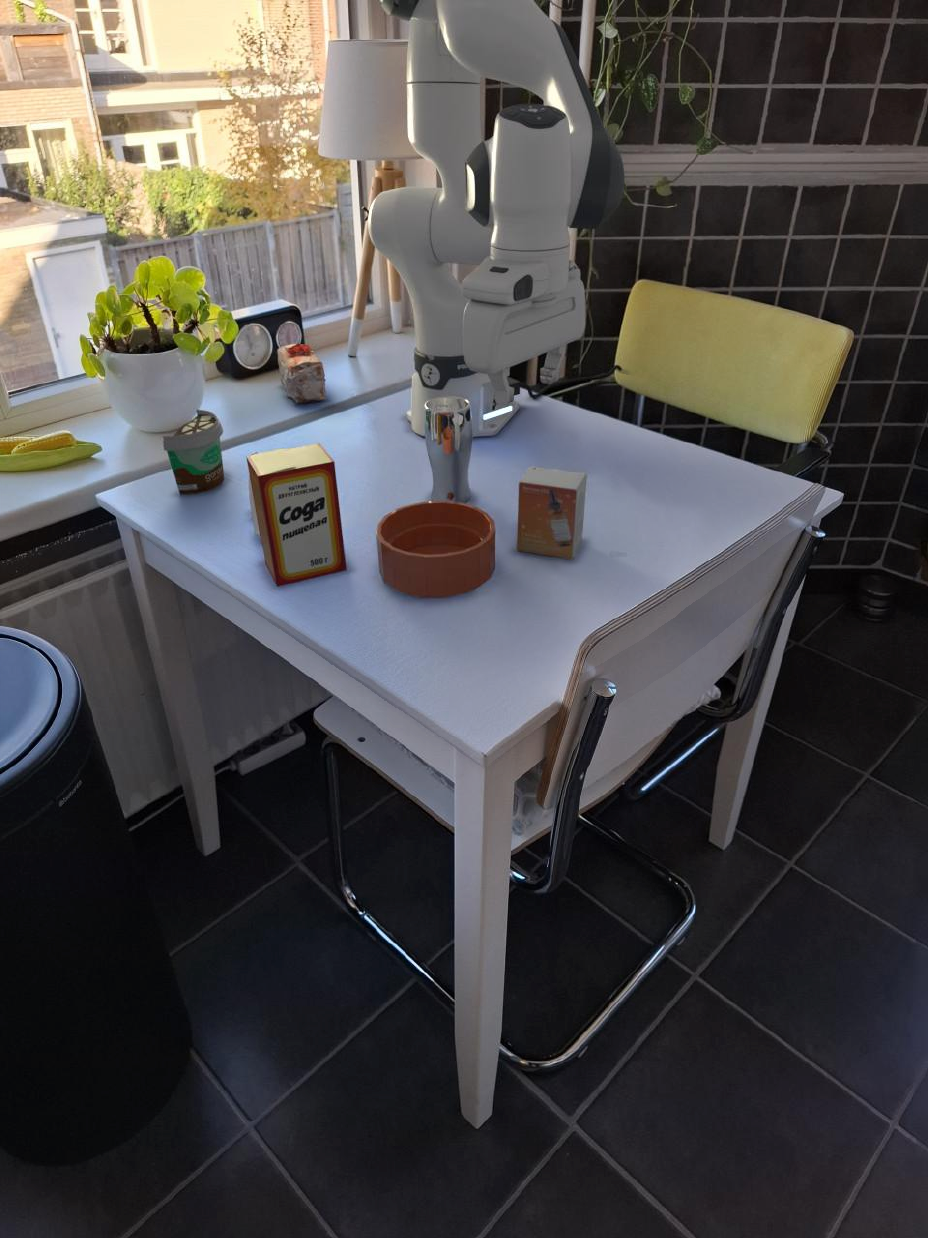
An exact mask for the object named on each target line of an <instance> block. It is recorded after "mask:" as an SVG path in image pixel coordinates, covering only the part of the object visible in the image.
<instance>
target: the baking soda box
mask: <svg viewBox="0 0 928 1238" xmlns="http://www.w3.org/2000/svg"><path fill="white" fill-rule="evenodd" d="M246 462H247V468H248V469H247V470H248V473H249V474H250V480H251V486H252V491H253V497H254V503H255V508H256V514H257V520H258V525H259V531H260V537H259V538H260V542H261V548H262V553H263V558H264V564H265V566H266V568H267V571H268V572H269V574H270V576H271V579H272V581H273V582H274V584H275V586H276V587H278V588H279V587H282V586H287V585H290V584H291V585H292V584H295V583H299V582H305V581H308V580H310V579H316V578H319V577H324V576H328V575H333V574H337V573H341V572H346V571H348V570H347V569H348V567H347V560H346V551H345V541H344V533H343V526H342V517H341V508H340V499H339V490H338V482H337V481H338V480H337V473H336V466H335V461H334V459H333V458H332V457H331V455H330V454H329V453H328V452H327V450H326V449H325V448H324V447H323V446H322V444H321V443H320V442H317V443H312V444H308V445H301V446H296V447H289V448H284V447H280V448H277V449H276V448H275V449H274V450H268V451H264V452H260V453H258V454H255V455H252V454H251V455H247V456H246Z"/></svg>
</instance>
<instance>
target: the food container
mask: <svg viewBox="0 0 928 1238" xmlns="http://www.w3.org/2000/svg"><path fill="white" fill-rule="evenodd" d="M223 433H224V428H223V426H222V423H221V421H220V419H219V418H218V416H217V415H216V414H215V413H213V412H211V411H209V410H204V409H196V416H194V418H193V419H192V420H190V421H189V422H186V423H184V424H182V425H181V426H180V427H179V428H178V429H177V430H176V432H175V433H174V434H173V435H162V439H163V441H162V442H163V450H164V451H165V452H167V455H168V459H169V462H170V466H171V469H172V473H173V476H174V479H175V483H176V486H177V489H178V493H179V495H195V494H201V493H205V492H209V491H211V490H214V489H216V488H218V487H219V486H221V485H222V484H223V483H224V481H225V472H224V464H223V455H222V454H223V453H222V445H221V436H222V435H223Z"/></svg>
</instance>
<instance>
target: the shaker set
mask: <svg viewBox="0 0 928 1238" xmlns="http://www.w3.org/2000/svg"><path fill="white" fill-rule="evenodd" d="M255 454H259V453H258V451H253V452H252V453H251V455H255ZM248 491H249V492H248V493H249V494H248V498H249V506H250V512H251V517H252V524H253V530H254V531H253V532H254V534H255V535H256V536H257V537H259V538H261V537H260V531H259V525H258V520H257V514H256V508H255V503H254V497H253V491H252V486H251V480H250V474H249V475H248Z"/></svg>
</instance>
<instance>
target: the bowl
mask: <svg viewBox="0 0 928 1238" xmlns="http://www.w3.org/2000/svg"><path fill="white" fill-rule="evenodd" d="M375 537H376V538H375V539H376V548H377V549H376V550H377V559H378V571H379V575H380V577H381V578H382V581H383V582H384V583H385V584H386V585H388V586H389V587H390V588H391V589H392V590H394V591H396V592H400V593H402V594H405V595H407V596H412V597H418V598H425V599H440V598H441V599H442V598H450V597H454V596H460V595H464V594H467V593H470V592H471V591H474V590H476V589H478V588H480V587H482V586H483V585H484V584H486V583H487V582H488V581H489V580H491V578H492V576H493V575H494V573H495V571H496V524H495V521H494V519H493V518H492V516H490V514H489V513H488V512H486V511H484V510H483V509H481V508H480V507H477V506H474V505H472V504H469V503H466V504H465V503H460V502H451V501H432V500H427V501H422V502H421V501H420V502H415V503H410V504H407V505H404V506H401V507H398V508H396V509H394V510H392V511H390V512H389V513H387V514H385V515H384V516H383V517H382V518H381V519H380V520H379V522H378V523H377V525H376V530H375Z"/></svg>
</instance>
